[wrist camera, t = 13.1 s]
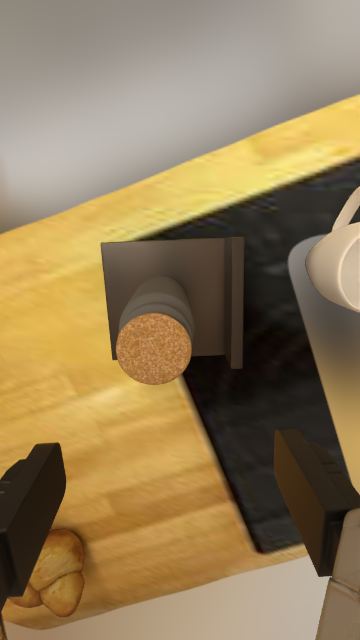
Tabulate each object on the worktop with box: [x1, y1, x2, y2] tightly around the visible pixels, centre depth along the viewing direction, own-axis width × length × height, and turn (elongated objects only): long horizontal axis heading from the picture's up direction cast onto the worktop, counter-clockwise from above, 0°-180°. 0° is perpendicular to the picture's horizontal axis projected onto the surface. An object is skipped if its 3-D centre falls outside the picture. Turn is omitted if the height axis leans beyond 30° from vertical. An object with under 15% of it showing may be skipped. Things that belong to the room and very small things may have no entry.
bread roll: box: [8, 529, 85, 617], centre depth 44 cm, size 13×10×8 cm
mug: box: [305, 187, 360, 313], centre depth 32 cm, size 12×8×11 cm
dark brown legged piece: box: [101, 237, 244, 369], centre depth 34 cm, size 14×13×9 cm
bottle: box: [116, 276, 195, 385], centre depth 26 cm, size 6×6×15 cm
